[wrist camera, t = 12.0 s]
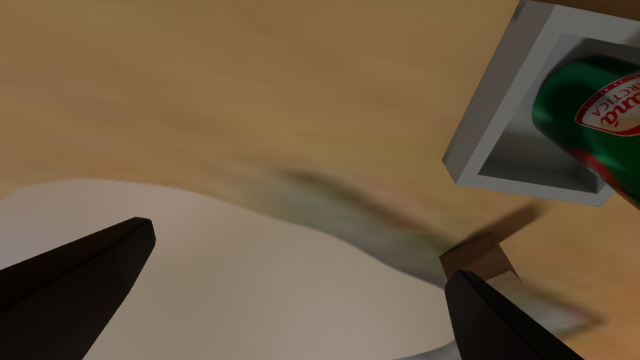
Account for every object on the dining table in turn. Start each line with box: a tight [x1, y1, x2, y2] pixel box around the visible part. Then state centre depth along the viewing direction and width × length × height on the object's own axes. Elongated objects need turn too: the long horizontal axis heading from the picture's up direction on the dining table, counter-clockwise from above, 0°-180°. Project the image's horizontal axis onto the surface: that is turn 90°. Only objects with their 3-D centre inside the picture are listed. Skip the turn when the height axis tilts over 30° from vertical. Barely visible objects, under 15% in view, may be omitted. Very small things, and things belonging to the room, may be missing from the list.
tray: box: [442, 0, 640, 207], centre depth 18 cm, size 10×10×3 cm
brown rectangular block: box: [439, 233, 522, 291], centre depth 26 cm, size 2×5×4 cm, turn 136°
